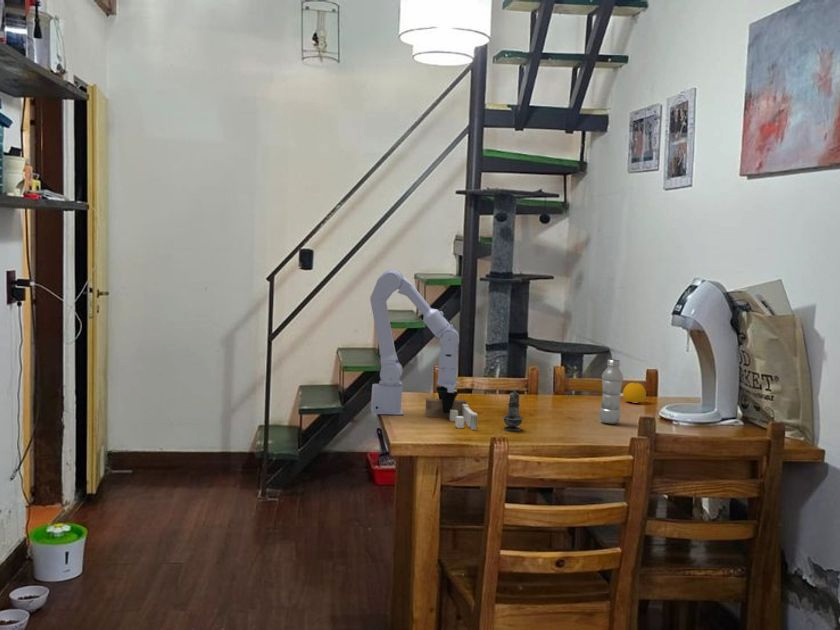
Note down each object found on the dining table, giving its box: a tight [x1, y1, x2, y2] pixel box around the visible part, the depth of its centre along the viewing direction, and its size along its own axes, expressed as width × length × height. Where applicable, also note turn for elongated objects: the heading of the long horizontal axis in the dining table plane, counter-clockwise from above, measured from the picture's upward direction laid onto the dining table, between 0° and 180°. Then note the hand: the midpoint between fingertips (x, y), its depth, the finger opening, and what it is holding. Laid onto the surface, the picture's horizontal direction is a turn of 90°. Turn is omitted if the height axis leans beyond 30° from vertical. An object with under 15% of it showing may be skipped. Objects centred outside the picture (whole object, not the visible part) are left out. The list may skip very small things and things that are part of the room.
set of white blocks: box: [449, 403, 478, 431], centre depth 241 cm, size 6×15×4 cm, turn 8°
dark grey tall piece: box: [502, 388, 524, 433], centre depth 237 cm, size 6×6×12 cm
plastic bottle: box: [598, 358, 624, 425], centre depth 252 cm, size 6×7×20 cm
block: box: [424, 398, 467, 418], centre depth 251 cm, size 12×4×5 cm, turn 98°
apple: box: [622, 382, 647, 403], centre depth 291 cm, size 8×8×8 cm
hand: (445, 411), depth 251 cm, fingers open, 4 cm apart
